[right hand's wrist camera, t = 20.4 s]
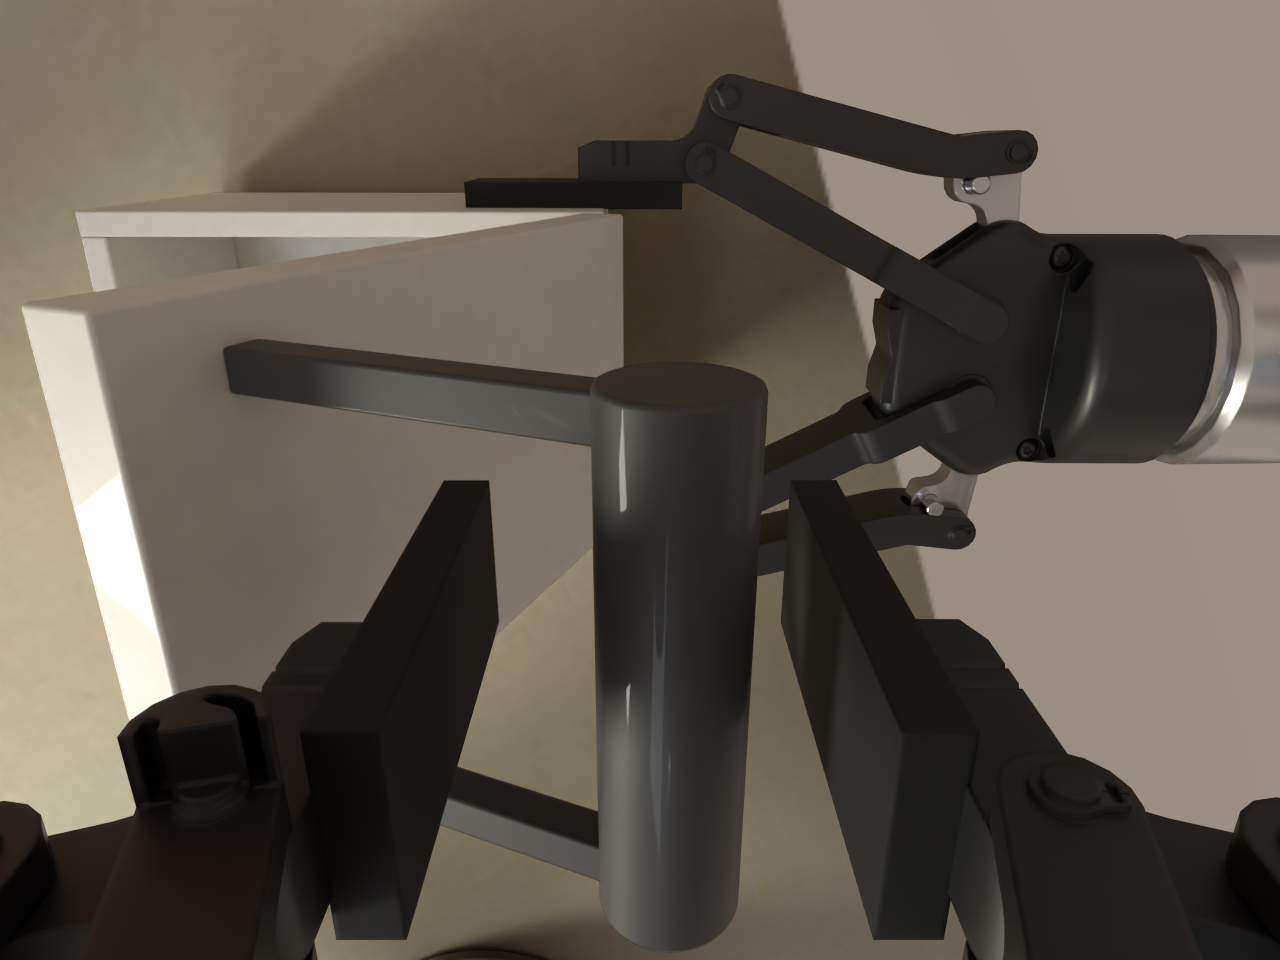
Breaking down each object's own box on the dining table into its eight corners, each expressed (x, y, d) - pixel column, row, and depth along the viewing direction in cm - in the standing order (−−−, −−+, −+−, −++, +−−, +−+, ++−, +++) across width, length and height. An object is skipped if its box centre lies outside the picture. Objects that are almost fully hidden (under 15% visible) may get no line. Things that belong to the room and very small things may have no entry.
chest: (254, 422, 36) (142, 509, 28) (215, 192, 33) (73, 210, 24) (610, 420, 37) (607, 506, 28) (608, 193, 33) (604, 211, 25)
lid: (164, 865, 14) (681, 1089, 11) (16, 303, 11) (702, 378, 7) (589, 511, 28) (877, 563, 24) (583, 213, 24) (916, 224, 21)
